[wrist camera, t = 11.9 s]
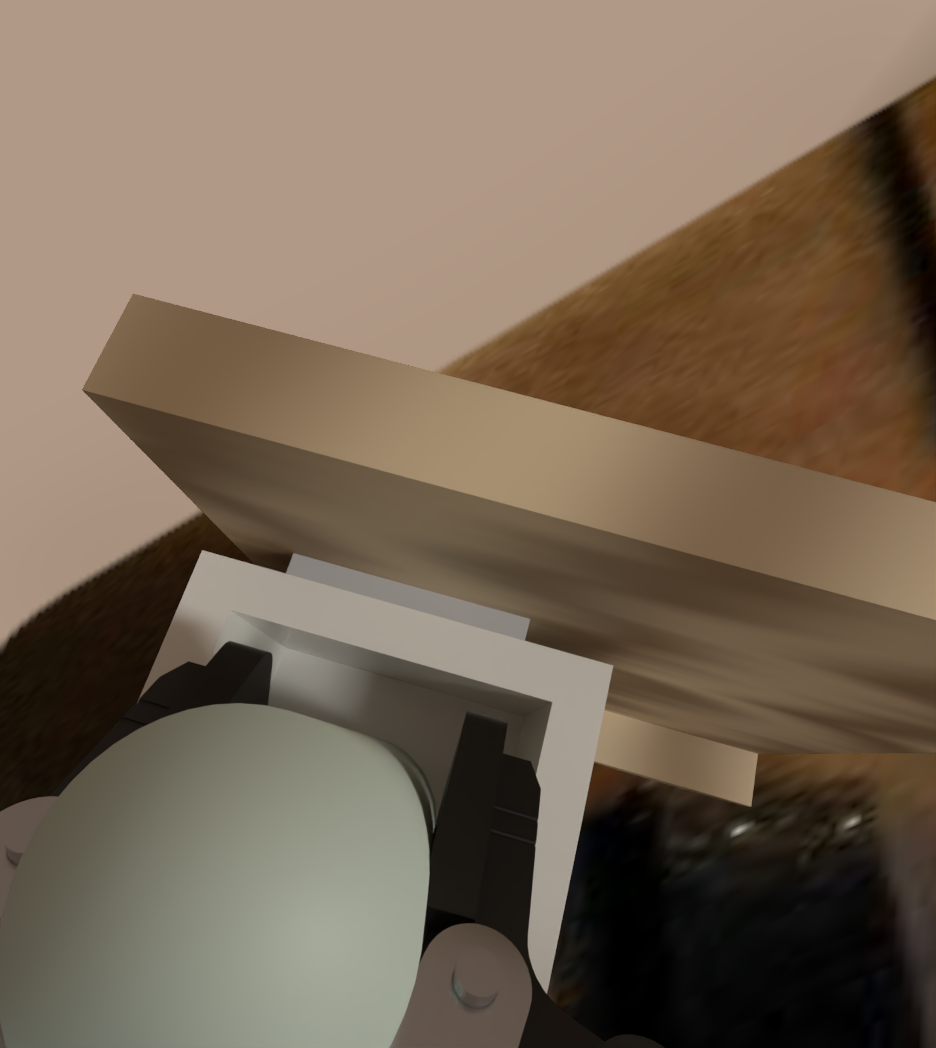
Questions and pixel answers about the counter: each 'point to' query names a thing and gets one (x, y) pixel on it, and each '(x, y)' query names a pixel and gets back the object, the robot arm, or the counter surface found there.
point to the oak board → (560, 537)
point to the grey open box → (412, 685)
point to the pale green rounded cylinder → (222, 890)
